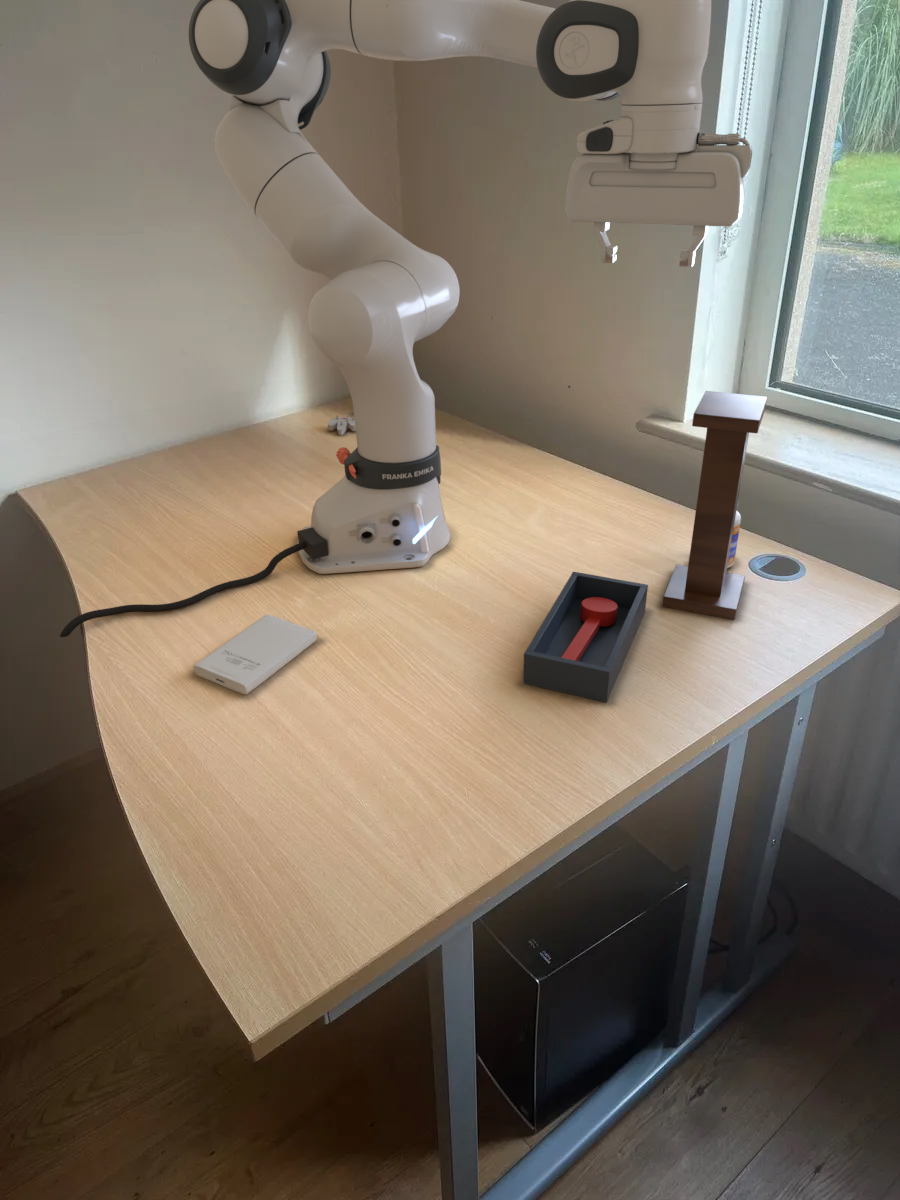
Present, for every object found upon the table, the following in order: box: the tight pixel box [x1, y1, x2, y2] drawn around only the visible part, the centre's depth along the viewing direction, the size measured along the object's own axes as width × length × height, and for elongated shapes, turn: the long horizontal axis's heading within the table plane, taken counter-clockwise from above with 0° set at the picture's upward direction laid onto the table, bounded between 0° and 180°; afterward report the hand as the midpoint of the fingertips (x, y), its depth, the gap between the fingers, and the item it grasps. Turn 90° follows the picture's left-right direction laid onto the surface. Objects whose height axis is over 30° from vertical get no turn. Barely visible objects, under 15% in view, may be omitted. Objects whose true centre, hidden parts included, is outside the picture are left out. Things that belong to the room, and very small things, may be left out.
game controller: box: [327, 412, 356, 436], centre depth 169 cm, size 6×12×3 cm, turn 12°
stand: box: [661, 390, 768, 620], centre depth 105 cm, size 10×9×26 cm
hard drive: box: [192, 614, 318, 696], centre depth 102 cm, size 2×8×12 cm
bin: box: [522, 571, 649, 703], centre depth 102 cm, size 20×10×4 cm, turn 157°
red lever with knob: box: [561, 597, 618, 661], centre depth 101 cm, size 16×4×2 cm, turn 157°
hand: (647, 264), depth 104 cm, fingers open, 8 cm apart
